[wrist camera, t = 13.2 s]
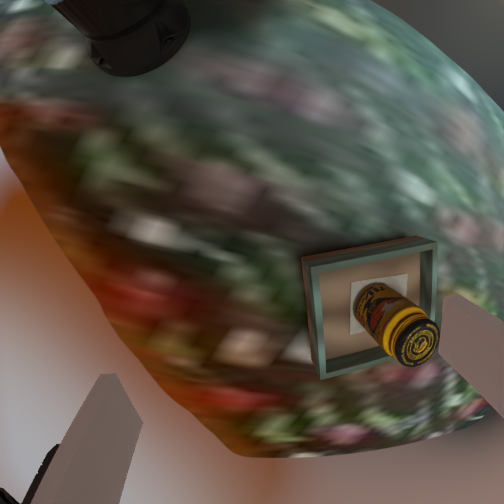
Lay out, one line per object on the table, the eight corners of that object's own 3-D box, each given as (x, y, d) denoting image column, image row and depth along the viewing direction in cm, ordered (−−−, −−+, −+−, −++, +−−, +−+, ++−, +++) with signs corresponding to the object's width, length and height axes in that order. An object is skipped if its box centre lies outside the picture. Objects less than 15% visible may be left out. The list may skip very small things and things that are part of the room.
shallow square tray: (295, 252, 39) (310, 267, 31) (405, 232, 40) (437, 241, 32) (307, 349, 42) (320, 379, 35) (405, 323, 43) (431, 345, 35)
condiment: (350, 281, 35) (396, 321, 24) (407, 273, 36) (463, 304, 24) (349, 334, 37) (387, 385, 25) (403, 322, 37) (451, 364, 25)
